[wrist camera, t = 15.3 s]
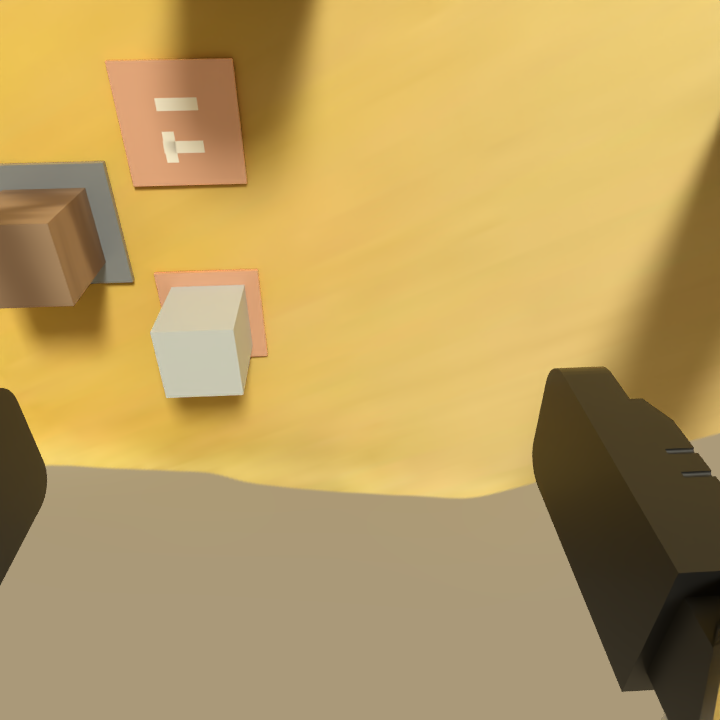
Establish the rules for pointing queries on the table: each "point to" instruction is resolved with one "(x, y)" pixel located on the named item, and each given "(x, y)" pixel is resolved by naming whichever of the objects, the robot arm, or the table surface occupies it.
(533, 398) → the table surface
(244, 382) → the white block
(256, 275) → the code tile
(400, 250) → the table surface
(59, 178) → the slate coaster
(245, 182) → the code tile
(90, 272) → the walnut block
